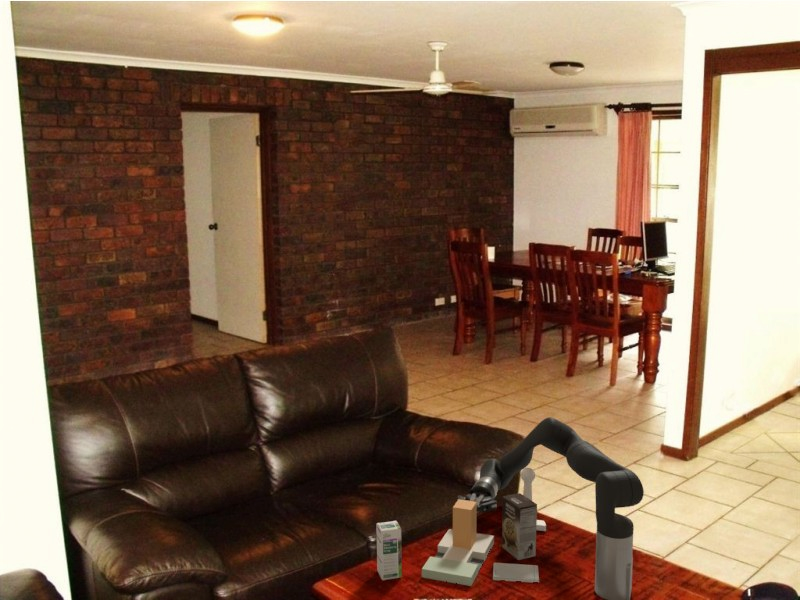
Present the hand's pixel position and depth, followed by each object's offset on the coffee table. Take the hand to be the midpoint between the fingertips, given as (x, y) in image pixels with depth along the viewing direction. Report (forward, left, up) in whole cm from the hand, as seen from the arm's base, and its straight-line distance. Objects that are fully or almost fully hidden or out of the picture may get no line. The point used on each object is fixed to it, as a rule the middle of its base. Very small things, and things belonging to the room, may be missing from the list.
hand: (469, 513), depth 232 cm
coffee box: (-15, 0, -10) cm, 18 cm away
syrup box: (+16, +25, -10) cm, 31 cm away
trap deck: (0, +11, -9) cm, 14 cm away
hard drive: (-17, +13, -10) cm, 24 cm away
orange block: (0, +5, -7) cm, 9 cm away
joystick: (-15, -14, -10) cm, 22 cm away
